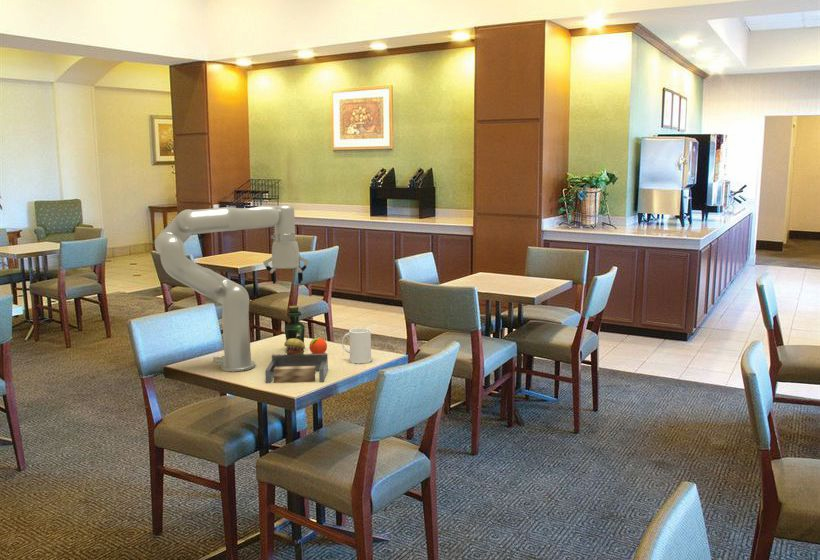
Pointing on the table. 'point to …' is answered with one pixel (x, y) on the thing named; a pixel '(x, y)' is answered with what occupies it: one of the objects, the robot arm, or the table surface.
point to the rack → (298, 363)
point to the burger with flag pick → (294, 346)
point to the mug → (359, 345)
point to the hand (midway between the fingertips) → (287, 282)
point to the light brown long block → (294, 374)
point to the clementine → (318, 346)
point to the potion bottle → (294, 325)
